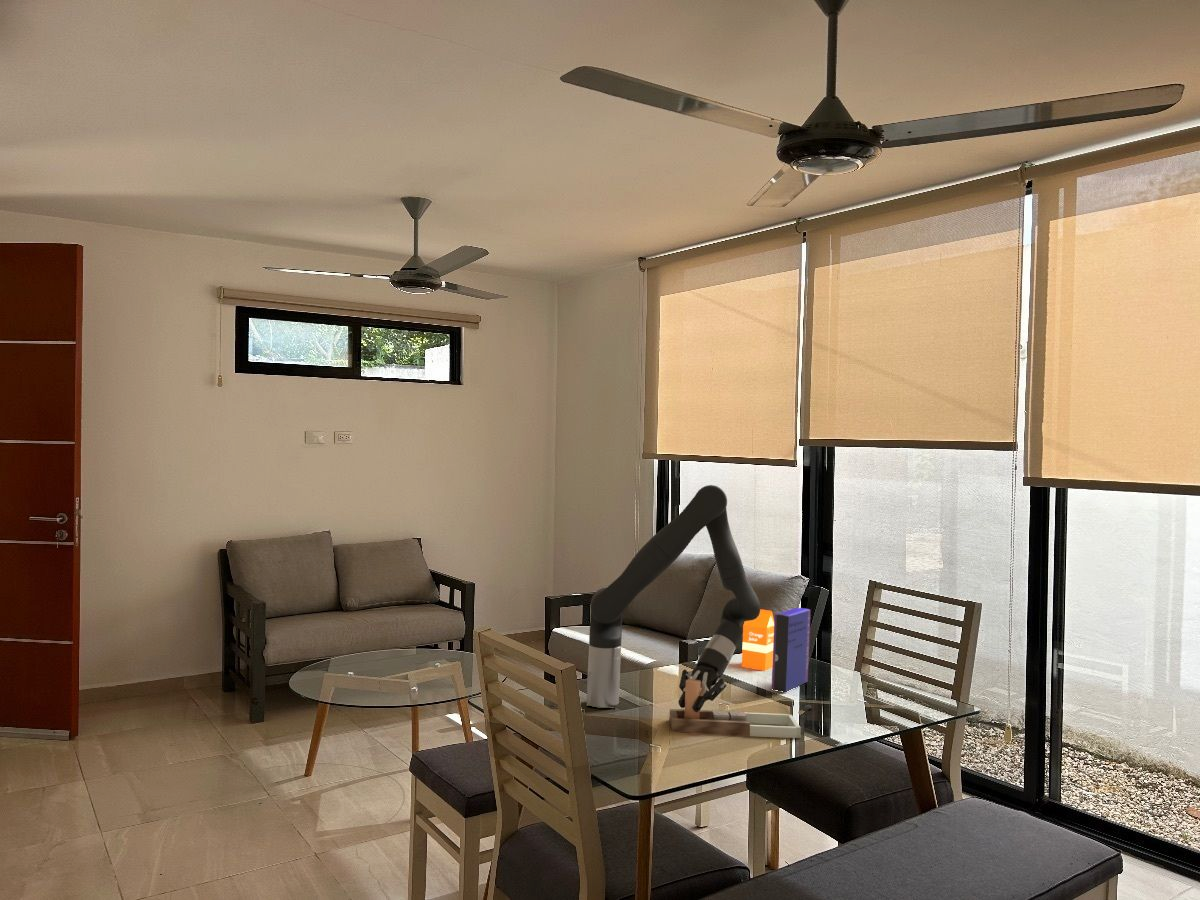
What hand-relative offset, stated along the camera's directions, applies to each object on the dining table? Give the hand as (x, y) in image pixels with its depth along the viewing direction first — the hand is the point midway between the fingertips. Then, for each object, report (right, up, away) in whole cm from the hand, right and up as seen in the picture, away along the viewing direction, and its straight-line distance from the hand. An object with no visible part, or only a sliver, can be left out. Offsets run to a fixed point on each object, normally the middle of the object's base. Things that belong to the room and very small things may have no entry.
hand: (687, 707), depth 237 cm
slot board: (+6, -7, +1) cm, 9 cm away
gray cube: (+13, -6, +1) cm, 14 cm away
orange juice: (+32, -8, +76) cm, 83 cm away
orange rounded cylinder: (+1, -5, +1) cm, 6 cm away
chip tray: (+22, -7, +1) cm, 23 cm away
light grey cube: (+9, -6, +1) cm, 10 cm away
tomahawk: (+34, -8, +18) cm, 39 cm away
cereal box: (+38, -8, +51) cm, 64 cm away
